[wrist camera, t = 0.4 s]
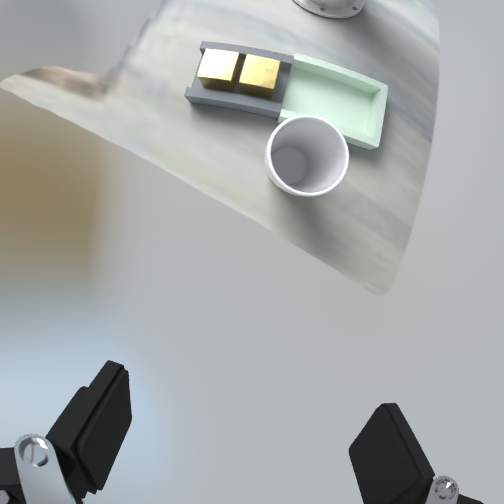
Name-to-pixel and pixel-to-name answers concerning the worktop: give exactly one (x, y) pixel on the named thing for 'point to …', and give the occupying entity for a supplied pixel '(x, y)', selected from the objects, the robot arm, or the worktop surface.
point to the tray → (336, 99)
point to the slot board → (236, 97)
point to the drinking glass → (306, 156)
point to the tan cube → (259, 76)
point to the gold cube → (219, 69)
